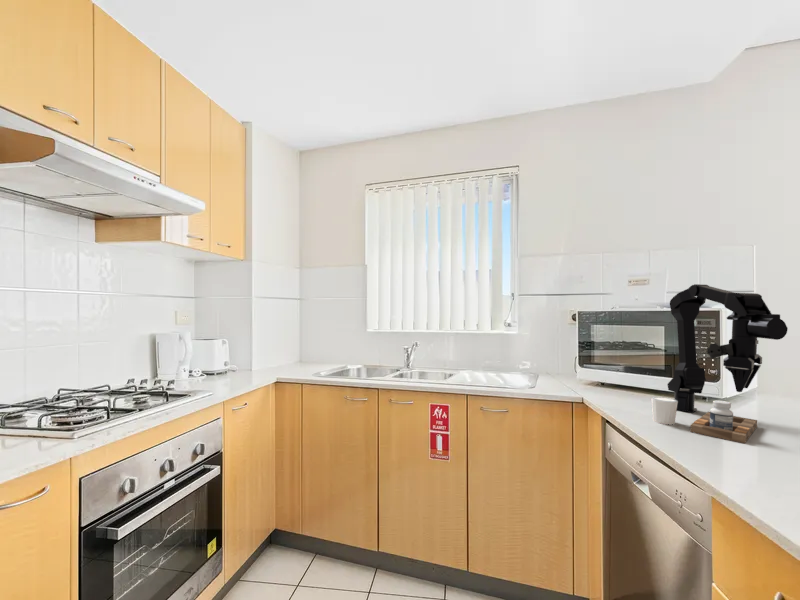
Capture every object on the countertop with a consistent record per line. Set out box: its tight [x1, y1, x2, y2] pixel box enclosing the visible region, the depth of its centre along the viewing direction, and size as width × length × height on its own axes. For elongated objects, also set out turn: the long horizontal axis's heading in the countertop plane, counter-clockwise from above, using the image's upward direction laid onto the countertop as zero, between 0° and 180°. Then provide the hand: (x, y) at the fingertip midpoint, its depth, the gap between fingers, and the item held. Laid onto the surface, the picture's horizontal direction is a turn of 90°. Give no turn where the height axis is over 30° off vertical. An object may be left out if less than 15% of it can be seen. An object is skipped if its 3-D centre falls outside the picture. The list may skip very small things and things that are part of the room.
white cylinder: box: [650, 396, 678, 426], centre depth 128 cm, size 7×7×7 cm
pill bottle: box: [709, 399, 734, 431], centre depth 118 cm, size 5×5×9 cm
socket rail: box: [690, 411, 758, 444], centre depth 122 cm, size 24×12×2 cm, turn 134°
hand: (742, 389), depth 122 cm, fingers open, 9 cm apart
